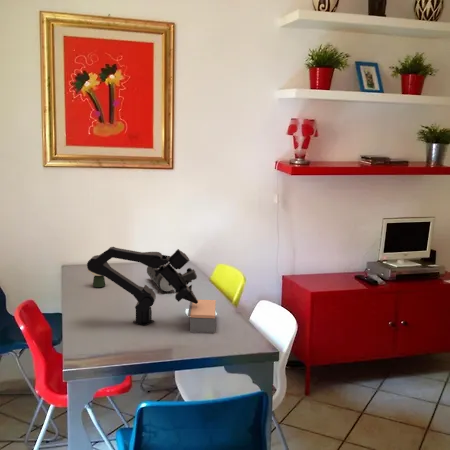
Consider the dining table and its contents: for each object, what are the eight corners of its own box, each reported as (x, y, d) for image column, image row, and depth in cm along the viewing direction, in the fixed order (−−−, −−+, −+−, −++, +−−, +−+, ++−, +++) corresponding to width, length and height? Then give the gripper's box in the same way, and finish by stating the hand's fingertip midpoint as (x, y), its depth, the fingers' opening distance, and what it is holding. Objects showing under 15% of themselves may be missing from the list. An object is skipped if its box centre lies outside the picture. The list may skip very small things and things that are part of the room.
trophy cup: (109, 284, 278) (109, 260, 276) (109, 288, 271) (109, 263, 269) (88, 285, 276) (88, 261, 274) (88, 289, 269) (87, 264, 267)
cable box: (190, 332, 214) (190, 318, 213) (193, 308, 243) (194, 296, 242) (214, 332, 214) (215, 318, 213) (215, 309, 243) (215, 296, 242)
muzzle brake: (163, 279, 292) (163, 260, 290) (177, 293, 266) (177, 273, 264) (146, 280, 288) (146, 261, 287) (158, 295, 263) (158, 275, 261)
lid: (187, 317, 213) (187, 314, 213) (190, 301, 233) (190, 299, 233) (214, 318, 213) (215, 315, 213) (215, 302, 233) (215, 300, 233)
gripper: (184, 269, 210) (210, 297, 212) (187, 258, 229) (211, 284, 231) (164, 287, 212) (190, 315, 214) (168, 275, 230) (193, 300, 232)
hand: (197, 302), depth 223 cm, fingers closed
